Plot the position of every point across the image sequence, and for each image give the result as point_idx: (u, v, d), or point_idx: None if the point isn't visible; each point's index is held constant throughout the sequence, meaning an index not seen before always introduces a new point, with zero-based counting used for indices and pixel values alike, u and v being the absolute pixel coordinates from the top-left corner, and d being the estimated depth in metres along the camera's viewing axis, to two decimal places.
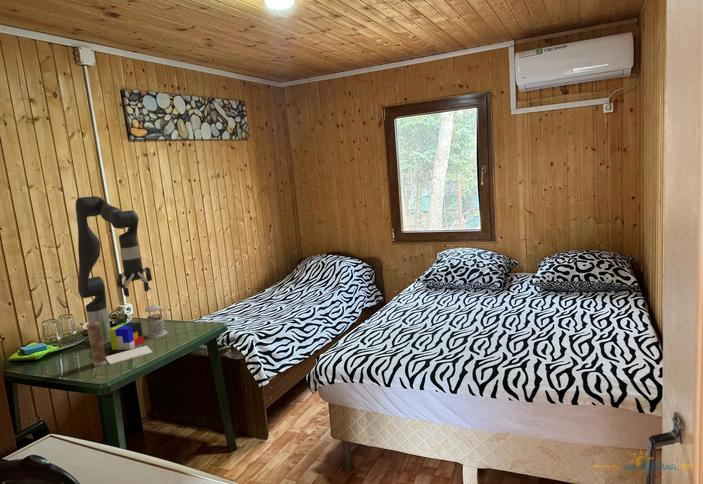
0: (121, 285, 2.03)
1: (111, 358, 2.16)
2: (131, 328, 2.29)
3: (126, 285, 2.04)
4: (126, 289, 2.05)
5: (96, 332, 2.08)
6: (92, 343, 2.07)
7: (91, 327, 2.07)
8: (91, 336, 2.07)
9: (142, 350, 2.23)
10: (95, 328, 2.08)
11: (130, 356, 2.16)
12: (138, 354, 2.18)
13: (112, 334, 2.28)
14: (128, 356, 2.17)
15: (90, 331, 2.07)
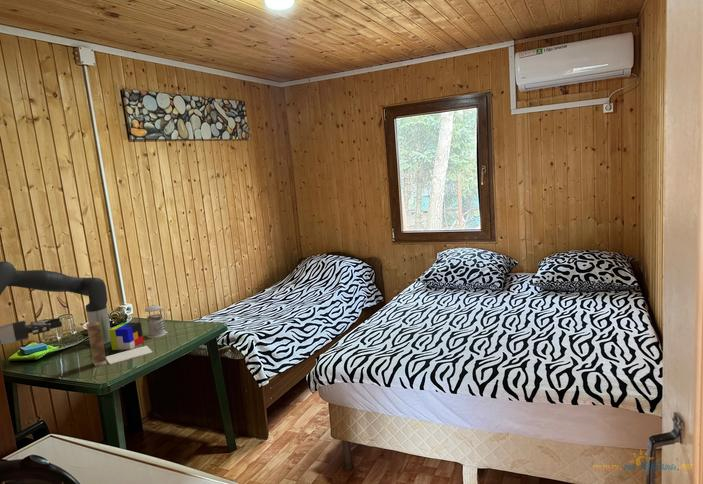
0: None
1: (111, 358, 2.16)
2: (131, 328, 2.29)
3: None
4: None
5: (96, 332, 2.08)
6: (92, 343, 2.07)
7: (91, 327, 2.07)
8: (91, 336, 2.07)
9: (142, 350, 2.23)
10: (95, 328, 2.08)
11: (130, 356, 2.16)
12: (138, 354, 2.18)
13: (112, 334, 2.28)
14: (128, 356, 2.17)
15: (90, 331, 2.07)
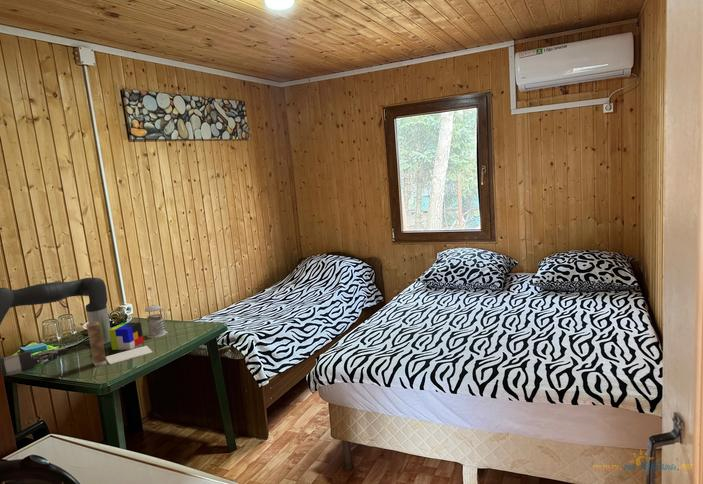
0: None
1: (111, 358, 2.16)
2: (131, 328, 2.29)
3: None
4: None
5: (96, 332, 2.08)
6: (92, 343, 2.07)
7: (91, 327, 2.07)
8: (91, 336, 2.07)
9: (142, 350, 2.23)
10: (95, 328, 2.08)
11: (130, 356, 2.16)
12: (138, 354, 2.18)
13: (112, 334, 2.28)
14: (128, 356, 2.17)
15: (90, 331, 2.07)
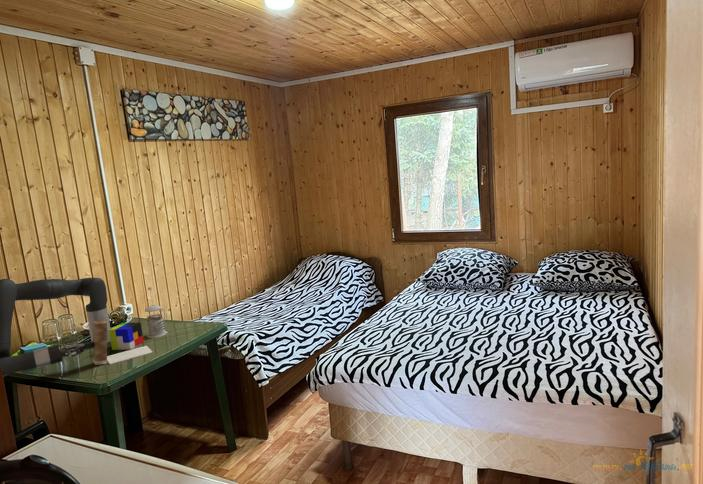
0: None
1: (111, 358, 2.16)
2: (131, 328, 2.29)
3: None
4: None
5: (102, 330, 2.09)
6: (96, 341, 2.08)
7: (98, 325, 2.08)
8: (96, 334, 2.08)
9: (142, 350, 2.23)
10: (102, 326, 2.09)
11: (130, 356, 2.16)
12: (138, 354, 2.18)
13: (112, 334, 2.28)
14: (128, 356, 2.17)
15: (96, 329, 2.08)
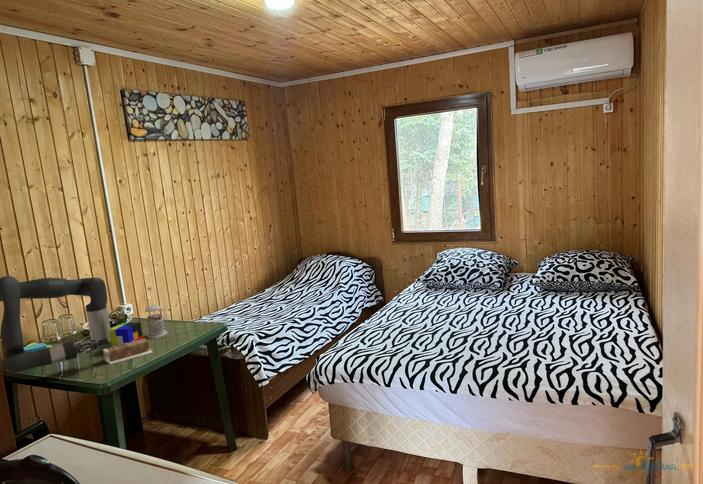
0: None
1: None
2: (131, 328, 2.29)
3: None
4: None
5: (141, 348, 2.19)
6: (130, 347, 2.16)
7: (147, 344, 2.20)
8: (137, 345, 2.18)
9: None
10: (145, 347, 2.20)
11: (130, 356, 2.16)
12: (138, 354, 2.18)
13: (112, 334, 2.28)
14: None
15: (143, 343, 2.19)
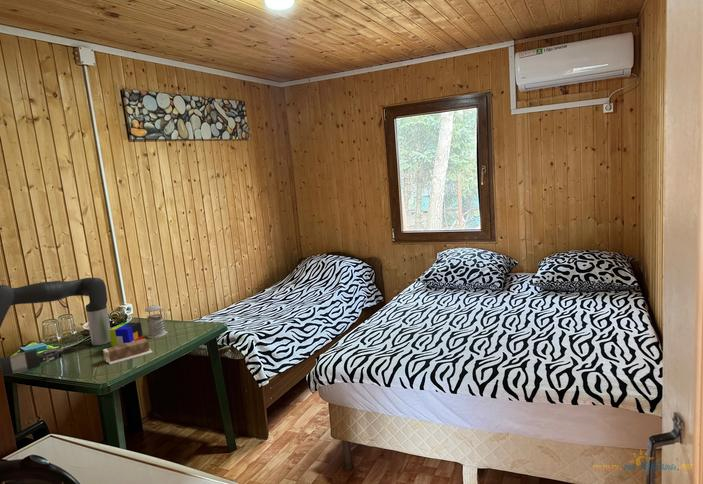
0: None
1: None
2: (131, 328, 2.29)
3: None
4: None
5: (141, 348, 2.19)
6: (130, 347, 2.16)
7: (147, 344, 2.20)
8: (137, 345, 2.18)
9: None
10: (145, 347, 2.20)
11: (130, 356, 2.16)
12: (138, 354, 2.18)
13: (112, 334, 2.28)
14: None
15: (143, 343, 2.19)
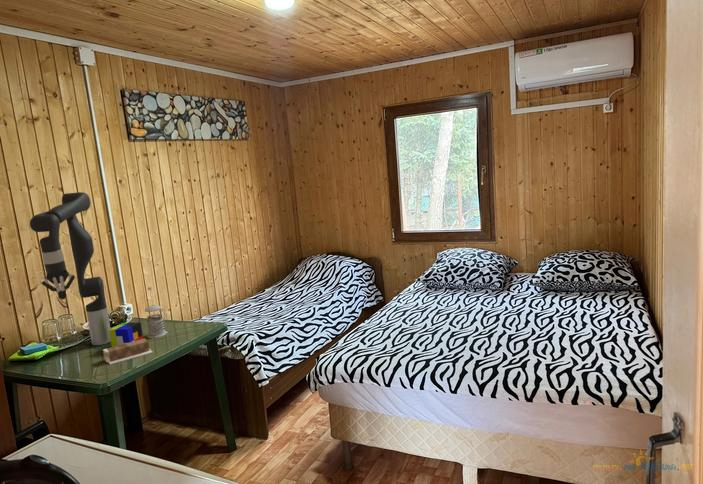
0: (52, 289, 2.06)
1: None
2: (131, 328, 2.29)
3: (59, 289, 2.07)
4: (59, 292, 2.08)
5: (141, 348, 2.19)
6: (130, 347, 2.16)
7: (147, 344, 2.20)
8: (137, 345, 2.18)
9: None
10: (145, 347, 2.20)
11: (130, 356, 2.16)
12: (138, 354, 2.18)
13: (112, 334, 2.28)
14: None
15: (143, 343, 2.19)
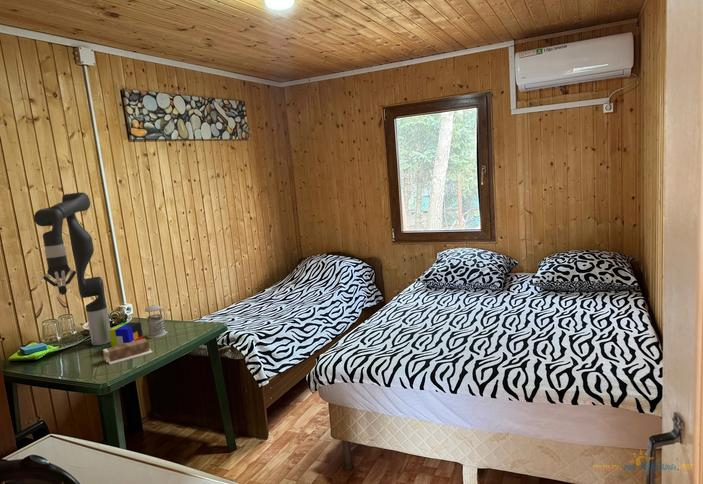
0: (53, 284, 2.06)
1: None
2: (131, 328, 2.29)
3: (60, 284, 2.07)
4: (60, 287, 2.08)
5: (141, 348, 2.19)
6: (130, 347, 2.16)
7: (147, 344, 2.20)
8: (137, 345, 2.18)
9: None
10: (145, 347, 2.20)
11: (130, 356, 2.16)
12: (138, 354, 2.18)
13: (112, 334, 2.28)
14: None
15: (143, 343, 2.19)
